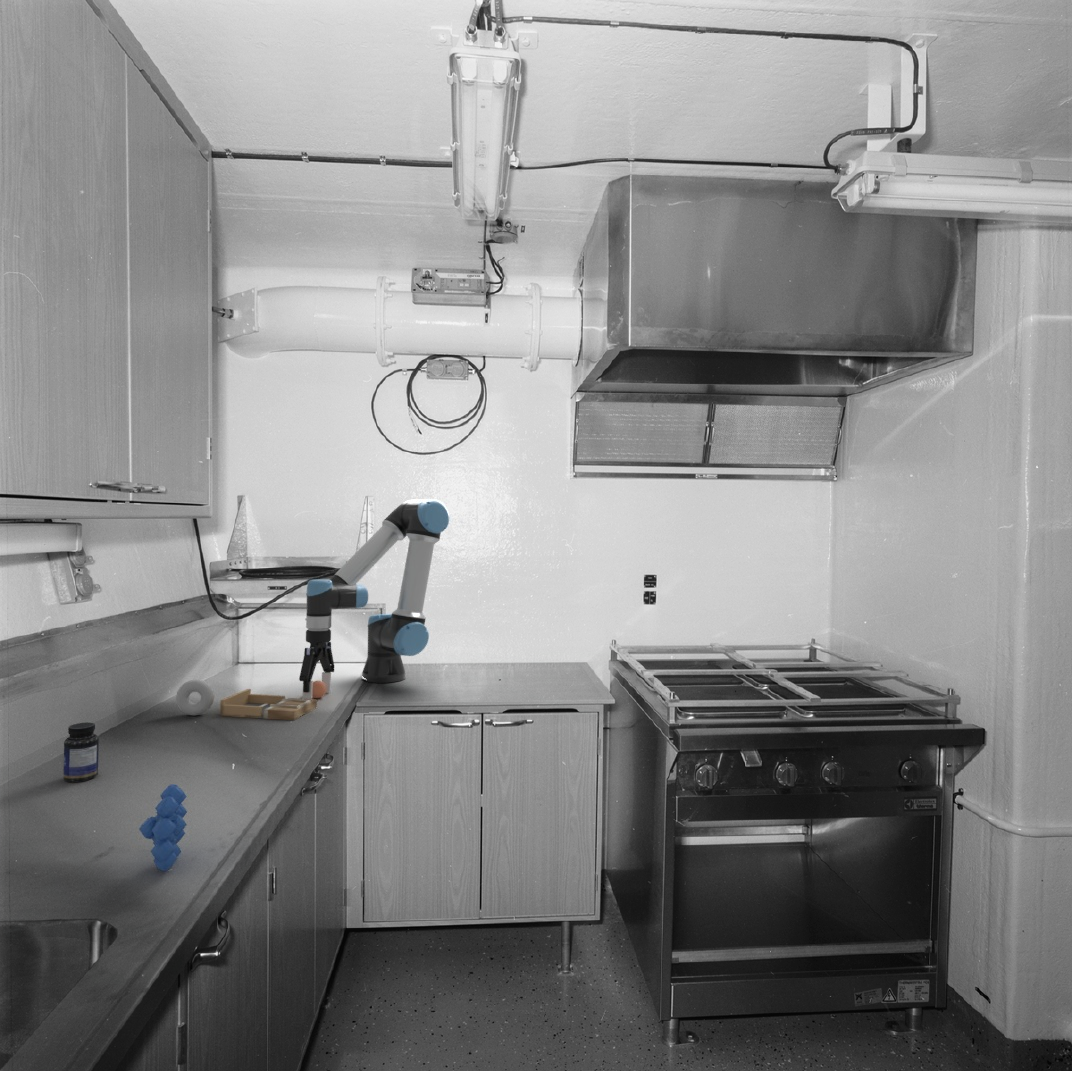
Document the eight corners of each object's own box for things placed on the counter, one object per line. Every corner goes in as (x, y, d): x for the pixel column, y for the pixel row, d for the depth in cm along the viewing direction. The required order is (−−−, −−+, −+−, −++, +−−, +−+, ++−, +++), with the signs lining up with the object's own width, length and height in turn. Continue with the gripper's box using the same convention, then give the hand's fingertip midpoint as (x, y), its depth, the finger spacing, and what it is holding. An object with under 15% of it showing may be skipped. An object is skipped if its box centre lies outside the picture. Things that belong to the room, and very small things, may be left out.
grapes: (148, 849, 114) (149, 776, 114) (193, 845, 116) (194, 773, 116) (127, 884, 103) (129, 804, 103) (178, 879, 105) (179, 800, 105)
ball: (312, 695, 221) (313, 678, 221) (329, 696, 220) (329, 679, 220) (305, 699, 216) (305, 682, 216) (321, 700, 215) (322, 683, 215)
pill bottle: (67, 774, 148) (68, 722, 148) (101, 771, 150) (102, 720, 150) (59, 784, 142) (60, 730, 142) (94, 781, 144) (95, 728, 144)
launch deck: (288, 706, 208) (288, 695, 208) (316, 707, 206) (316, 697, 206) (263, 718, 194) (263, 707, 194) (294, 720, 192) (294, 709, 192)
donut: (215, 713, 198) (216, 678, 198) (211, 716, 194) (212, 680, 194) (178, 713, 196) (178, 678, 196) (173, 717, 193) (174, 681, 193)
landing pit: (247, 703, 209) (247, 689, 209) (288, 706, 208) (288, 691, 208) (220, 715, 195) (220, 700, 195) (263, 718, 194) (263, 702, 194)
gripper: (324, 623, 230) (322, 688, 231) (288, 634, 206) (286, 706, 206) (345, 624, 229) (344, 689, 230) (312, 635, 205) (310, 707, 205)
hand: (317, 697), depth 218 cm, fingers open, 12 cm apart
